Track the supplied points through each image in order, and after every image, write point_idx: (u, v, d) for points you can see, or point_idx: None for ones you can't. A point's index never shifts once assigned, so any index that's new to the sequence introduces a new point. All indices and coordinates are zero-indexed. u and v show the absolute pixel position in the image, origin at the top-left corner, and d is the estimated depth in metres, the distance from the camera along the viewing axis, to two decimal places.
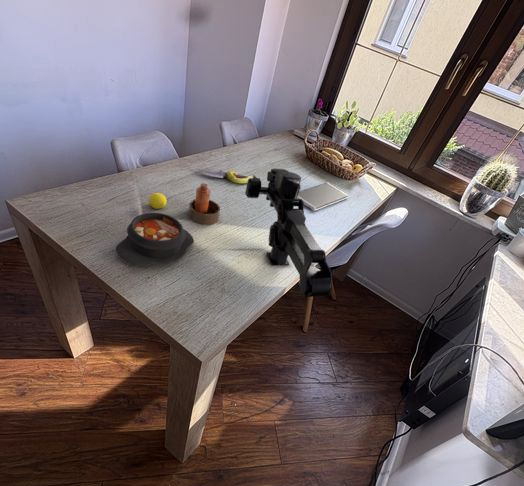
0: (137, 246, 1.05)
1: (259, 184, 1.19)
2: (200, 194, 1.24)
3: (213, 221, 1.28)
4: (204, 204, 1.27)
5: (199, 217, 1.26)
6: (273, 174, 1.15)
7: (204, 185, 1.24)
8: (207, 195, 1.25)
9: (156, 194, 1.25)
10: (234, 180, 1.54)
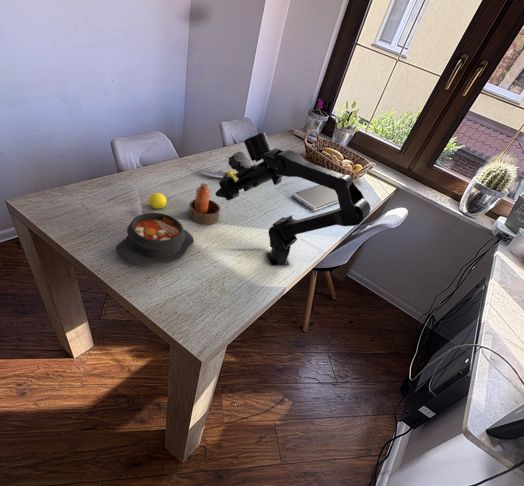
0: (137, 246, 1.05)
1: (231, 178, 1.10)
2: (200, 194, 1.24)
3: (213, 221, 1.28)
4: (204, 204, 1.27)
5: (199, 217, 1.26)
6: (235, 157, 1.08)
7: (204, 185, 1.24)
8: (207, 195, 1.25)
9: (156, 194, 1.25)
10: (234, 180, 1.54)
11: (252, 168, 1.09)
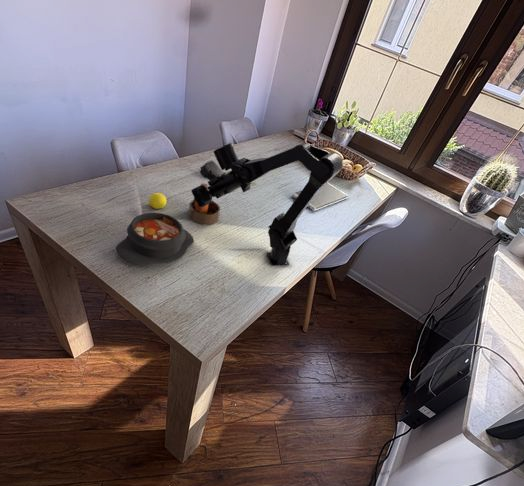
0: (137, 246, 1.05)
1: (203, 186, 1.17)
2: None
3: (213, 221, 1.28)
4: None
5: (199, 217, 1.26)
6: (206, 166, 1.15)
7: (204, 185, 1.24)
8: None
9: (156, 194, 1.25)
10: None
11: (222, 176, 1.16)
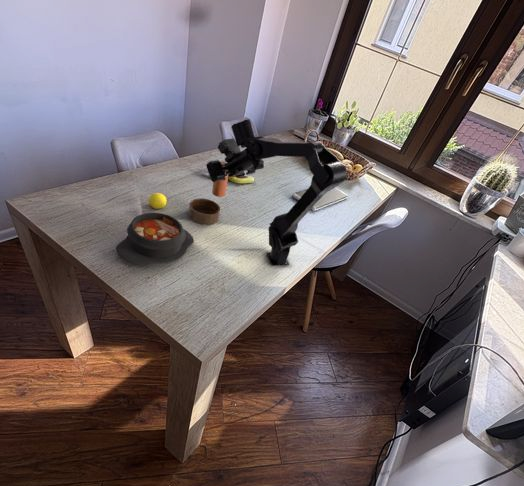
0: (137, 246, 1.05)
1: (218, 161, 1.18)
2: None
3: (213, 221, 1.28)
4: (221, 182, 1.27)
5: (199, 217, 1.26)
6: None
7: (223, 163, 1.25)
8: None
9: (156, 194, 1.25)
10: (234, 180, 1.54)
11: (238, 153, 1.16)
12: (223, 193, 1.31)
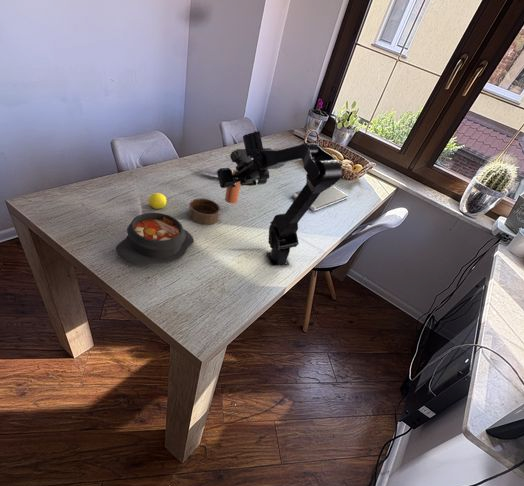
0: (137, 246, 1.05)
1: (228, 169, 1.24)
2: None
3: (213, 221, 1.28)
4: (233, 189, 1.33)
5: (199, 217, 1.26)
6: (235, 151, 1.23)
7: (236, 171, 1.31)
8: None
9: (156, 194, 1.25)
10: None
11: (247, 163, 1.22)
12: (234, 200, 1.37)
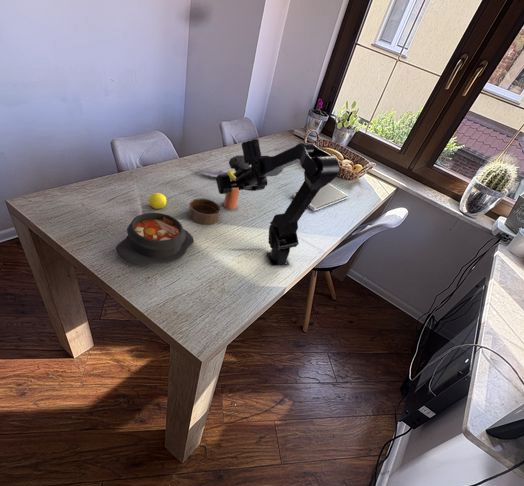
0: (137, 246, 1.05)
1: (227, 175, 1.25)
2: None
3: (213, 221, 1.28)
4: (231, 196, 1.36)
5: (199, 217, 1.26)
6: None
7: (235, 179, 1.33)
8: (235, 189, 1.34)
9: (156, 194, 1.25)
10: None
11: (246, 169, 1.23)
12: (233, 207, 1.39)
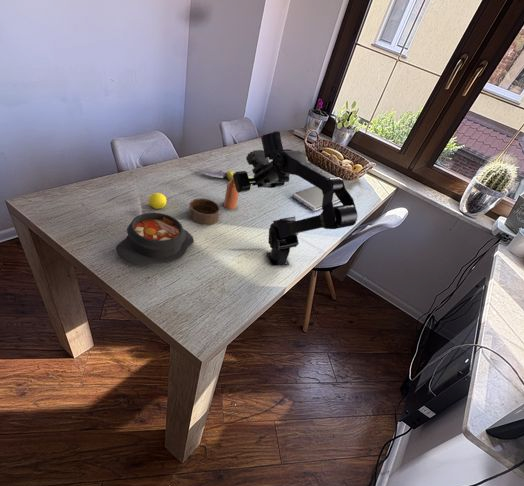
0: (137, 246, 1.05)
1: (245, 172, 1.16)
2: (229, 186, 1.33)
3: (213, 221, 1.28)
4: (231, 196, 1.36)
5: (199, 217, 1.26)
6: None
7: None
8: (235, 189, 1.34)
9: (156, 194, 1.25)
10: None
11: (265, 165, 1.14)
12: (233, 207, 1.39)
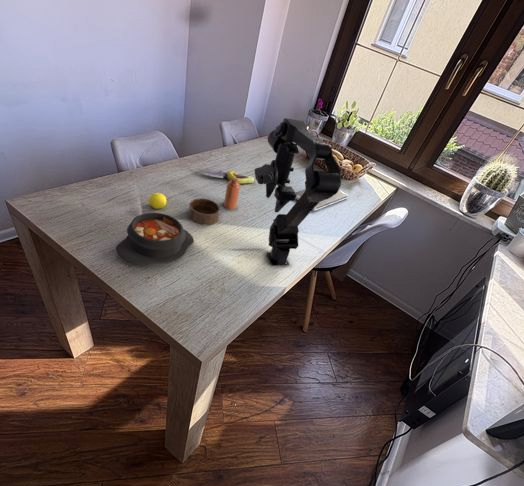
0: (137, 246, 1.05)
1: (278, 187, 1.14)
2: (229, 186, 1.33)
3: (213, 221, 1.28)
4: (231, 196, 1.36)
5: (199, 217, 1.26)
6: (263, 174, 1.12)
7: (235, 179, 1.33)
8: (235, 189, 1.34)
9: (156, 194, 1.25)
10: None
11: (278, 164, 1.13)
12: (233, 207, 1.39)
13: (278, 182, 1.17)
